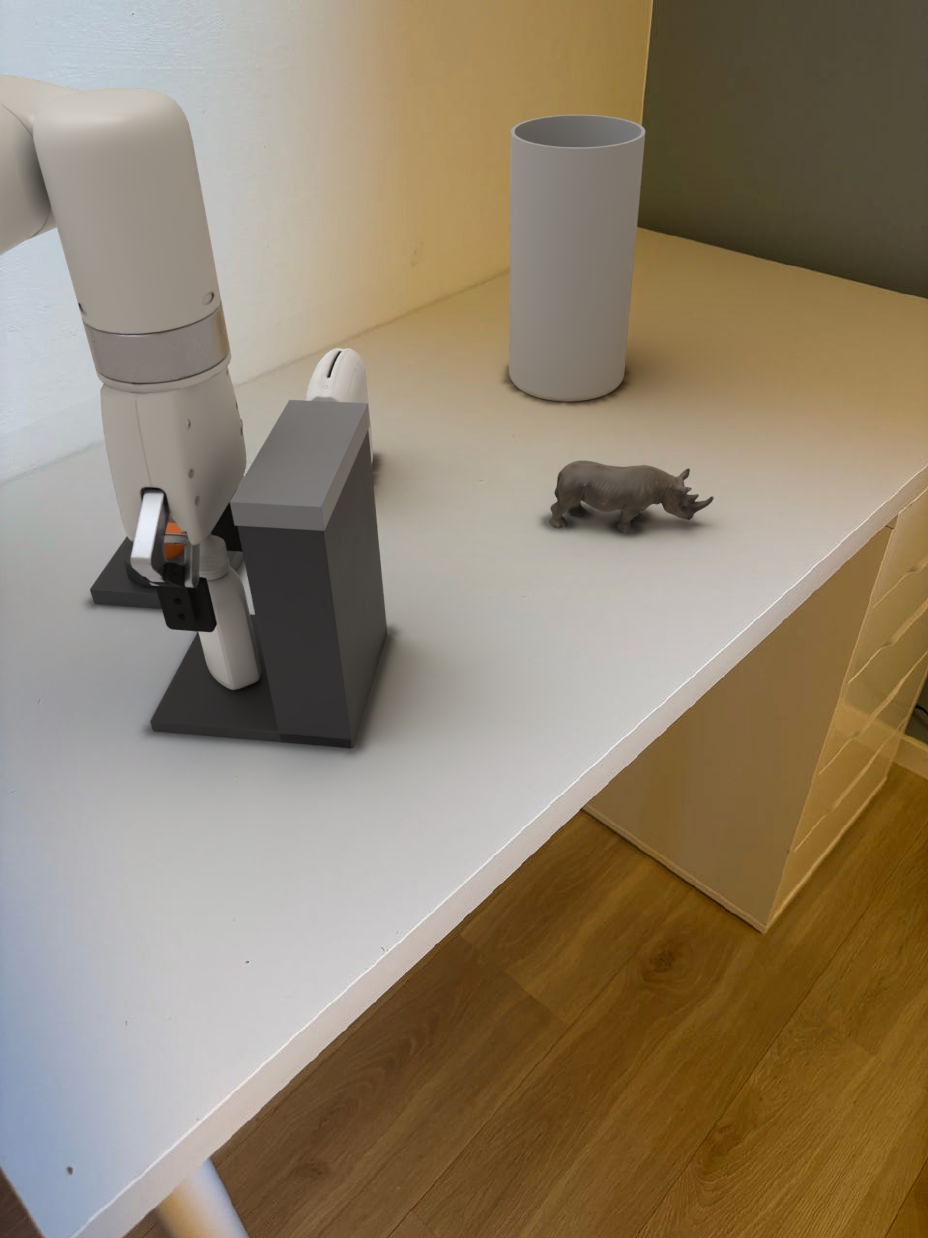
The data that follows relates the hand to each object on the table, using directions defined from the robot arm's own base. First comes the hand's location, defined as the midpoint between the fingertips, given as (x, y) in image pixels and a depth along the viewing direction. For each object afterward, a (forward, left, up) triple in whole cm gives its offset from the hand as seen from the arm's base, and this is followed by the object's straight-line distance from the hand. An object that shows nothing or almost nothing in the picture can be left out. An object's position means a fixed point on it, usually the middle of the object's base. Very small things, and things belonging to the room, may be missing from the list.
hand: (214, 585), depth 67 cm
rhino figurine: (+28, +23, -9) cm, 37 cm away
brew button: (-9, +11, -5) cm, 15 cm away
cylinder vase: (+21, +51, -9) cm, 56 cm away
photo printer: (+2, +27, -9) cm, 28 cm away
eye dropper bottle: (0, 0, -8) cm, 8 cm away
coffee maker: (+3, 0, -9) cm, 9 cm away
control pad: (-9, +11, -9) cm, 17 cm away
